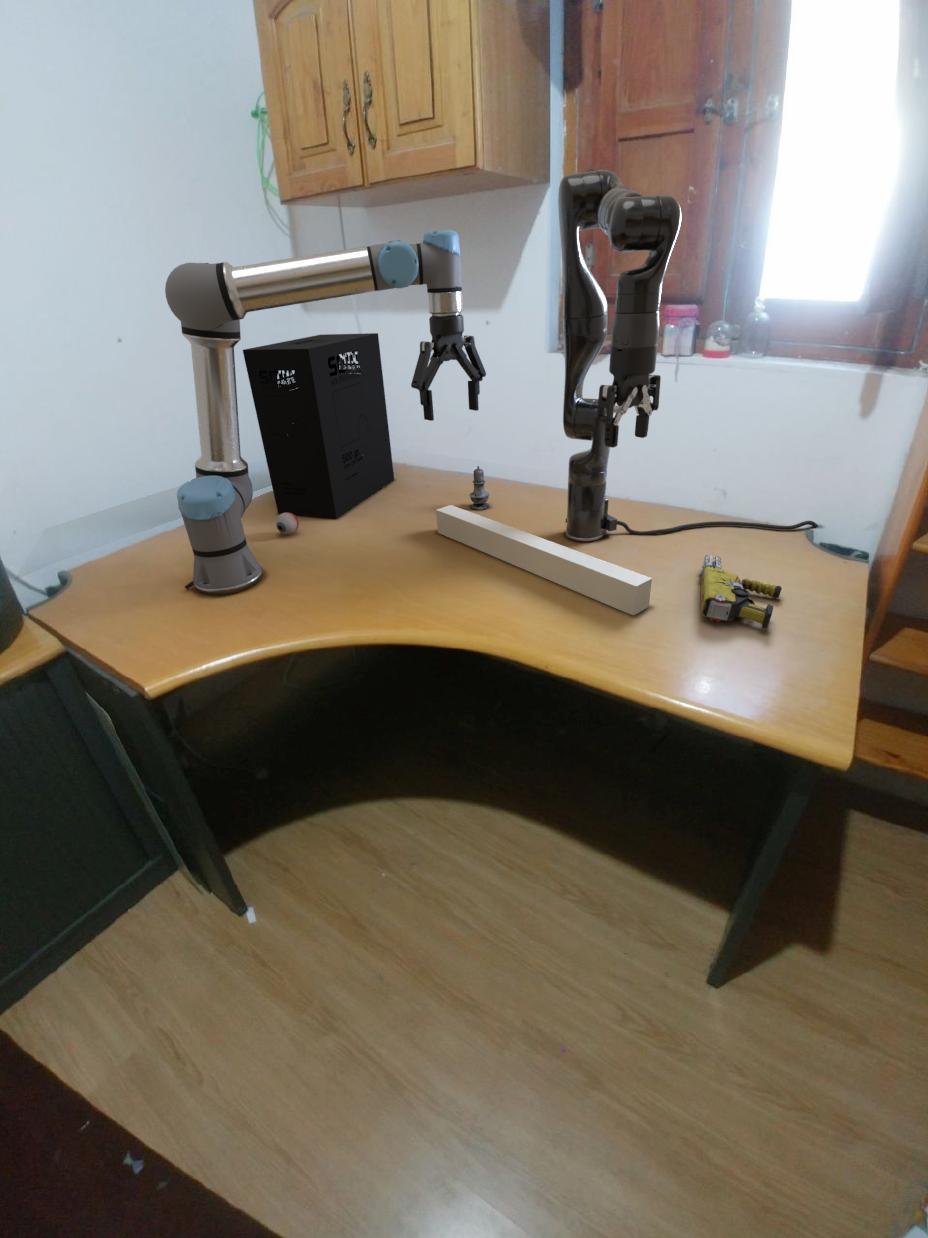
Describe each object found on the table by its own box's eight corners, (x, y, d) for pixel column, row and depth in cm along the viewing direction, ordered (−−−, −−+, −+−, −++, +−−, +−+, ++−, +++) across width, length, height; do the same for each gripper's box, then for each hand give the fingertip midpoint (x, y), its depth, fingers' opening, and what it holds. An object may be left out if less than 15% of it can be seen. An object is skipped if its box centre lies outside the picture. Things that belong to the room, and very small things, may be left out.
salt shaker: (488, 509, 173) (486, 468, 167) (468, 509, 175) (466, 468, 169) (491, 503, 178) (490, 462, 172) (471, 502, 180) (470, 462, 174)
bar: (648, 607, 121) (652, 578, 117) (633, 615, 118) (636, 586, 115) (452, 527, 163) (450, 504, 160) (437, 532, 161) (435, 509, 157)
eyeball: (273, 537, 164) (268, 516, 161) (287, 528, 169) (282, 508, 166) (291, 539, 161) (286, 518, 158) (305, 530, 166) (301, 510, 163)
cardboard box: (342, 476, 210) (320, 334, 188) (394, 479, 204) (377, 333, 181) (277, 513, 180) (242, 349, 158) (336, 518, 174) (308, 348, 151)
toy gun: (779, 564, 127) (705, 551, 131) (794, 614, 107) (705, 598, 111) (772, 584, 129) (699, 571, 133) (786, 637, 109) (699, 620, 113)
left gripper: (477, 309, 141) (481, 404, 152) (389, 319, 128) (399, 421, 138) (499, 309, 136) (501, 407, 147) (409, 319, 123) (418, 426, 133)
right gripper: (641, 337, 106) (633, 431, 114) (588, 346, 98) (583, 446, 106) (679, 338, 101) (667, 437, 109) (626, 348, 93) (618, 453, 101)
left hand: (452, 414), depth 142 cm, fingers open, 13 cm apart
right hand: (626, 441), depth 108 cm, fingers open, 8 cm apart
